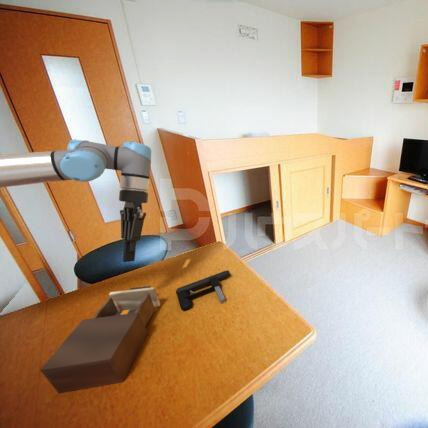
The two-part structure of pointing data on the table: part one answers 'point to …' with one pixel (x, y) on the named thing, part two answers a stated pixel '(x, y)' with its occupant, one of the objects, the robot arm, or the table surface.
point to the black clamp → (215, 286)
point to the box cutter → (125, 312)
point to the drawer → (131, 302)
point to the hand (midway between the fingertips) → (128, 261)
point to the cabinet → (96, 353)
